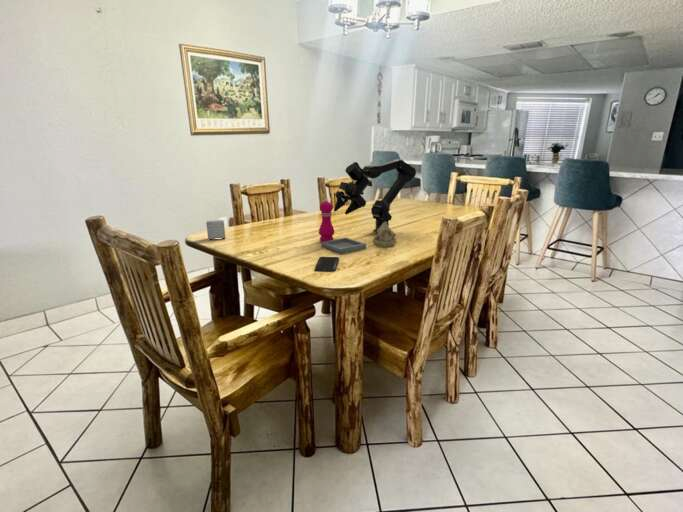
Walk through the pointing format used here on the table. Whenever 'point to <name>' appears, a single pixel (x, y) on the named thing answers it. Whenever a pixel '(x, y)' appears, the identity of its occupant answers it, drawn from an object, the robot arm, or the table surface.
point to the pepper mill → (326, 221)
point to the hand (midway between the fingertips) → (339, 212)
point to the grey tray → (343, 245)
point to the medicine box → (215, 229)
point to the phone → (327, 264)
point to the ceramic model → (385, 236)
